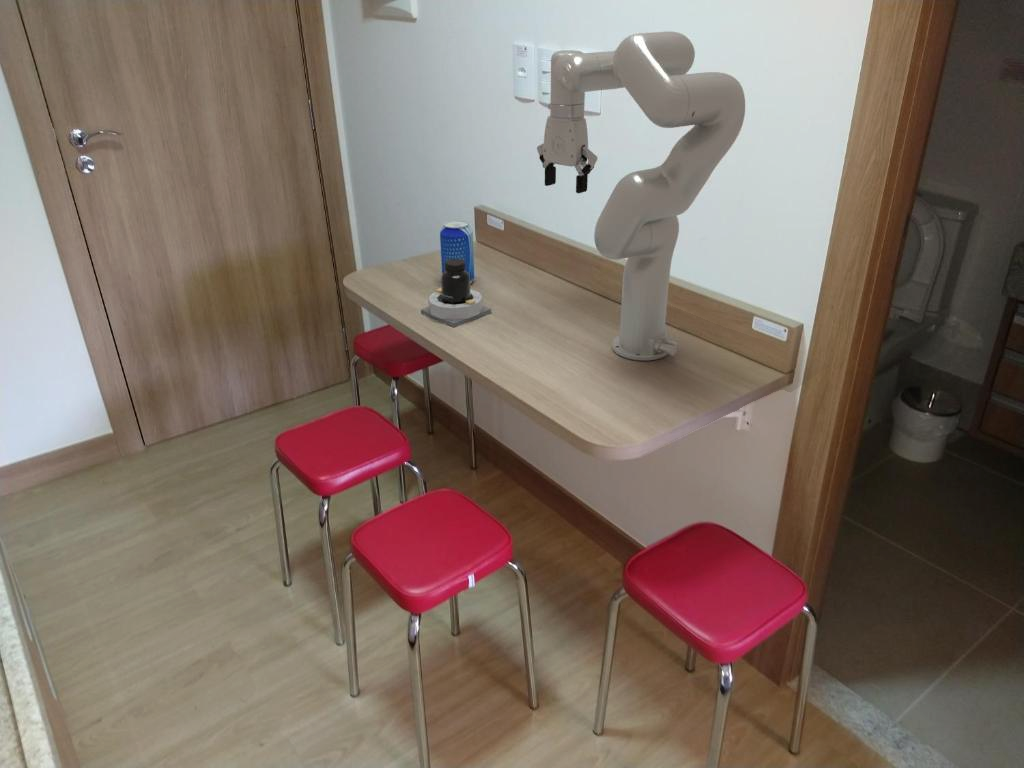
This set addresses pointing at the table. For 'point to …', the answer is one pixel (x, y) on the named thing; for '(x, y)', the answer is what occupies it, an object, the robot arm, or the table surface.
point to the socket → (455, 309)
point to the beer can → (457, 244)
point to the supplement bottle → (455, 282)
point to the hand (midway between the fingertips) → (565, 188)
